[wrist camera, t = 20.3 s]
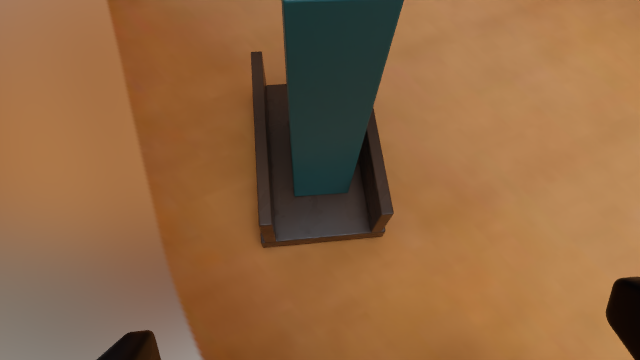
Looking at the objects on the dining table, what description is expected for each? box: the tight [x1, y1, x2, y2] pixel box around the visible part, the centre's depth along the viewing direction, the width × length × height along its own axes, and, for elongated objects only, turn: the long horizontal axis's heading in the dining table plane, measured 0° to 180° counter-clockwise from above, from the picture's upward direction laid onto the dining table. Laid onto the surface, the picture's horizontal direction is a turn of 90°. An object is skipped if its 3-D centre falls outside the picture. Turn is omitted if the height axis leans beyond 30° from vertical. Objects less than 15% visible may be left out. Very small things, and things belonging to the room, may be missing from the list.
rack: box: [251, 52, 394, 248], centre depth 21 cm, size 10×7×4 cm, turn 6°
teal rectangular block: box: [282, 0, 404, 196], centre depth 16 cm, size 5×3×13 cm, turn 5°
